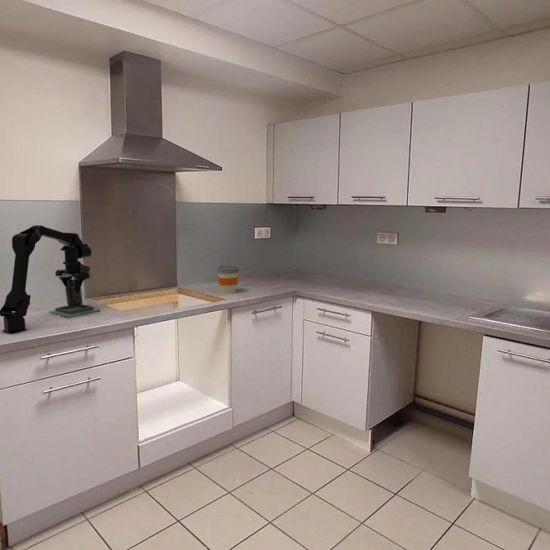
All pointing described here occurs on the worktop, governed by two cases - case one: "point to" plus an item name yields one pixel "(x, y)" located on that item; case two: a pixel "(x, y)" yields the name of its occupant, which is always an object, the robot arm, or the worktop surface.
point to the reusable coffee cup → (228, 278)
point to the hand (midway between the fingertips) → (73, 292)
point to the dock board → (74, 310)
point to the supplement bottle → (73, 294)
